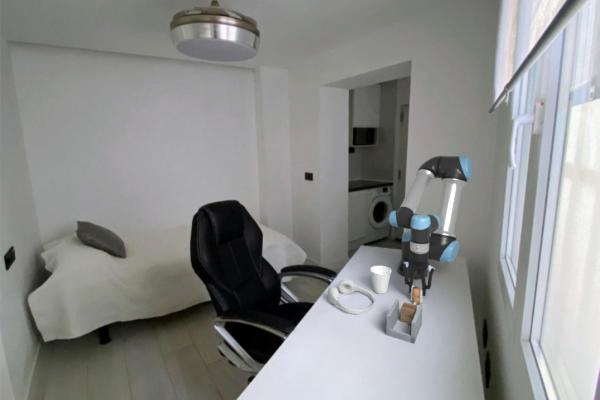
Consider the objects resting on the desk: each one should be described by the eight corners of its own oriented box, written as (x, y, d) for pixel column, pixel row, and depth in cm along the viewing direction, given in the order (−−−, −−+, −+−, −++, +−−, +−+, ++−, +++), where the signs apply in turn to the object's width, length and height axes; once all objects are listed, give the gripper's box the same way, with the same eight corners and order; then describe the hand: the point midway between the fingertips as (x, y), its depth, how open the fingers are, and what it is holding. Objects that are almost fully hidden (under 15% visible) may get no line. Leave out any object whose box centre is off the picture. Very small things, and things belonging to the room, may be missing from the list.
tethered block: (410, 299, 135) (411, 285, 133) (422, 302, 132) (423, 288, 131) (400, 321, 119) (401, 305, 118) (413, 325, 117) (414, 309, 115)
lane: (395, 317, 122) (396, 299, 121) (421, 324, 117) (422, 305, 115) (386, 334, 111) (386, 315, 110) (414, 343, 106) (415, 323, 105)
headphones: (321, 288, 133) (359, 310, 120) (345, 273, 146) (382, 292, 133) (320, 301, 135) (357, 325, 123) (344, 286, 148) (380, 306, 136)
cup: (392, 297, 138) (392, 274, 136) (370, 295, 140) (370, 273, 138) (390, 286, 147) (390, 265, 145) (369, 285, 149) (369, 264, 147)
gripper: (397, 250, 130) (396, 300, 134) (438, 257, 121) (435, 309, 126) (402, 245, 136) (400, 292, 141) (441, 251, 128) (437, 301, 132)
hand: (416, 300), depth 133 cm, fingers closed on tethered block, 3 cm apart
